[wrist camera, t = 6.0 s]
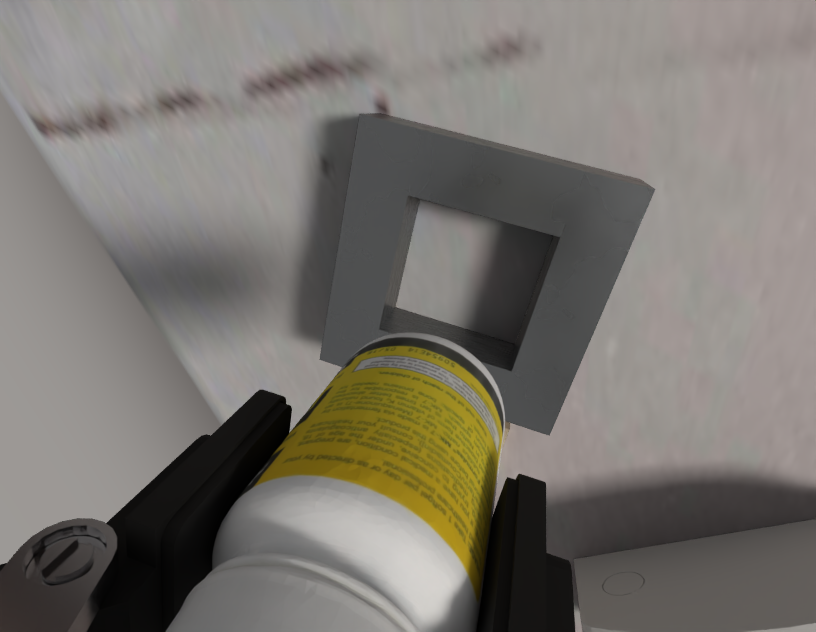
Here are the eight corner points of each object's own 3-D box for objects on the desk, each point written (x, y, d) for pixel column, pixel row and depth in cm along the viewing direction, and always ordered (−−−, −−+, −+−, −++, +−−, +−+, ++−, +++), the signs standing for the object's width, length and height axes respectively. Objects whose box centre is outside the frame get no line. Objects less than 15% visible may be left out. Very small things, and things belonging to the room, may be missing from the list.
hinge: (599, 619, 31) (593, 758, 22) (571, 546, 32) (554, 653, 23) (929, 580, 25) (1115, 752, 16) (890, 490, 25) (1048, 606, 16)
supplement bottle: (341, 314, 13) (74, 573, 6) (519, 343, 12) (478, 701, 5) (339, 458, 15) (135, 796, 8) (493, 493, 14) (434, 921, 7)
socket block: (548, 402, 27) (549, 435, 24) (340, 335, 28) (319, 359, 25) (640, 179, 21) (655, 189, 19) (380, 113, 23) (359, 113, 20)
